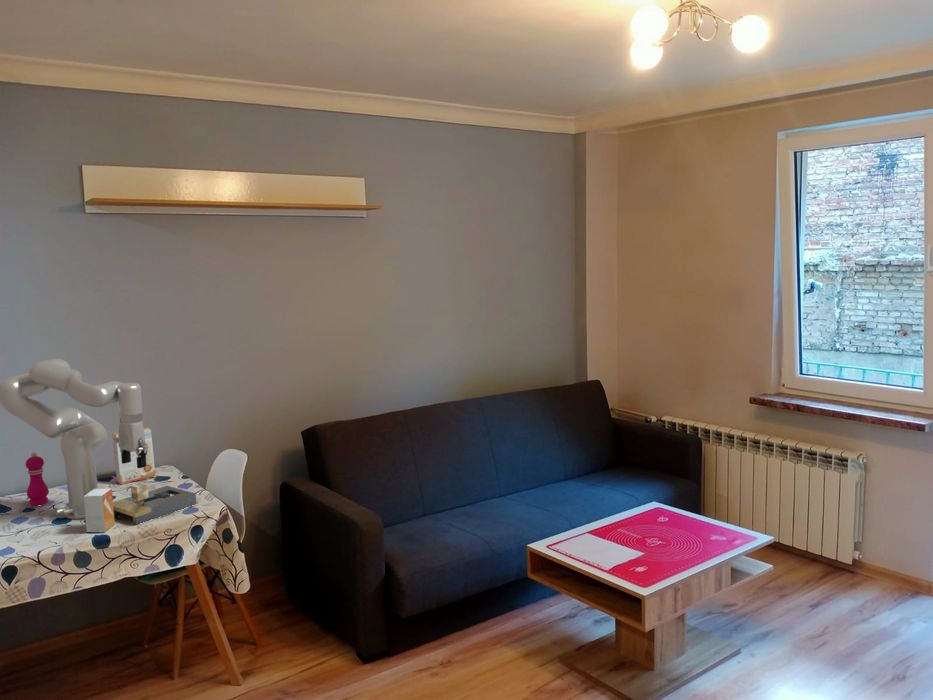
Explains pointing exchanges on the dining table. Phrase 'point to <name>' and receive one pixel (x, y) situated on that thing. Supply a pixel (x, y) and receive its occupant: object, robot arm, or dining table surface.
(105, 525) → the small box
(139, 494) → the maple peg
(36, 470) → the pepper mill
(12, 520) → the dining table surface
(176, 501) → the keyhole plate
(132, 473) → the cracker box
